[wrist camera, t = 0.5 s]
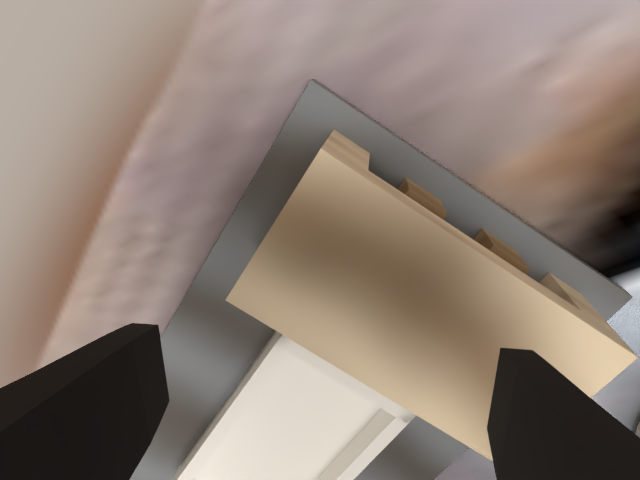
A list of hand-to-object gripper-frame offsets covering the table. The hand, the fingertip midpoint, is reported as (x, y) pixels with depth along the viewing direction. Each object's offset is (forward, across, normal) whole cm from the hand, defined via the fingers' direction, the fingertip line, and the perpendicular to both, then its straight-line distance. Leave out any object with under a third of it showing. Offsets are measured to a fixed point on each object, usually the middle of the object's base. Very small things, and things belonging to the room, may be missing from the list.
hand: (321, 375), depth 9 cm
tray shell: (+9, +3, +10) cm, 14 cm away
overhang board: (+10, +1, +8) cm, 13 cm away
